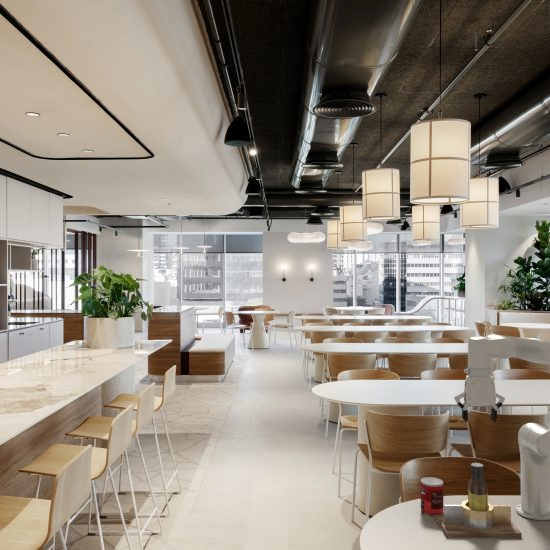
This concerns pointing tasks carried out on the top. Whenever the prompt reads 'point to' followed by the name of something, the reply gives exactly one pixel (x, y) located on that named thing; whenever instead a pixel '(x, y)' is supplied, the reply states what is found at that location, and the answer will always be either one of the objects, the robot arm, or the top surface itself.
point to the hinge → (477, 516)
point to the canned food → (431, 495)
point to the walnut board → (464, 531)
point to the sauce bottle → (477, 489)
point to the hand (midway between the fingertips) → (479, 420)
